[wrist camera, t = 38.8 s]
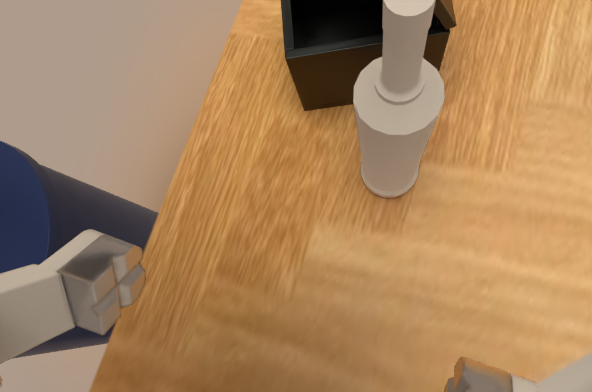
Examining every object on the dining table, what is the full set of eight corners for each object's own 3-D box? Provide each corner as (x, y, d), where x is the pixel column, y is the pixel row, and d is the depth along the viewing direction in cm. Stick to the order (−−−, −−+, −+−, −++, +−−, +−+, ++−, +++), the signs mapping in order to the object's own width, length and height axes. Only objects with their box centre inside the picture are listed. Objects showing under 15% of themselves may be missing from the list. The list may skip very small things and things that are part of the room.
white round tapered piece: (396, 137, 42) (427, -86, 18) (428, 181, 40) (509, 3, 16) (350, 165, 42) (318, -17, 18) (380, 210, 40) (389, 78, 16)
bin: (304, 111, 44) (285, 59, 34) (296, 19, 46) (276, -52, 37) (433, 92, 42) (450, 32, 33) (417, -2, 45) (429, -83, 35)
